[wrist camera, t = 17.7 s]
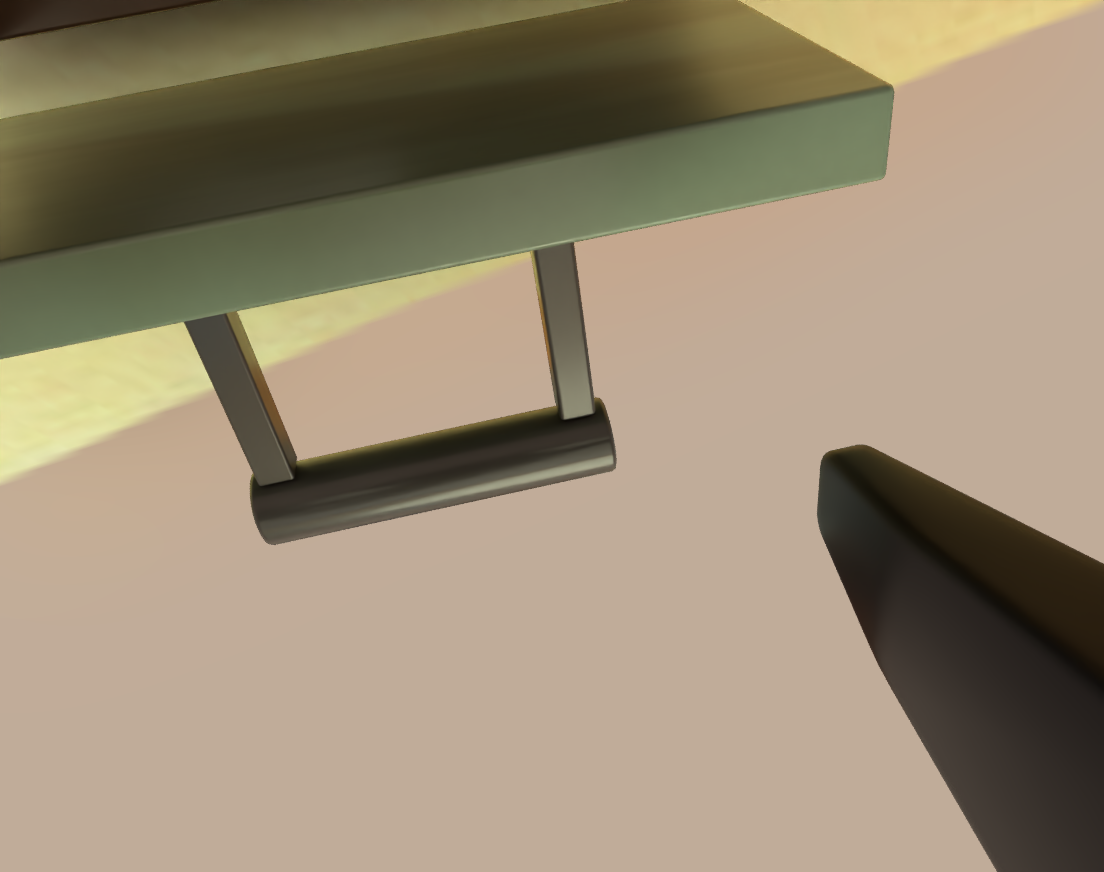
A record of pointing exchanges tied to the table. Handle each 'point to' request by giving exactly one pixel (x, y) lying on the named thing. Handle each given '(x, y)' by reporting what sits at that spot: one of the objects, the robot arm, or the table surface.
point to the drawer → (409, 206)
